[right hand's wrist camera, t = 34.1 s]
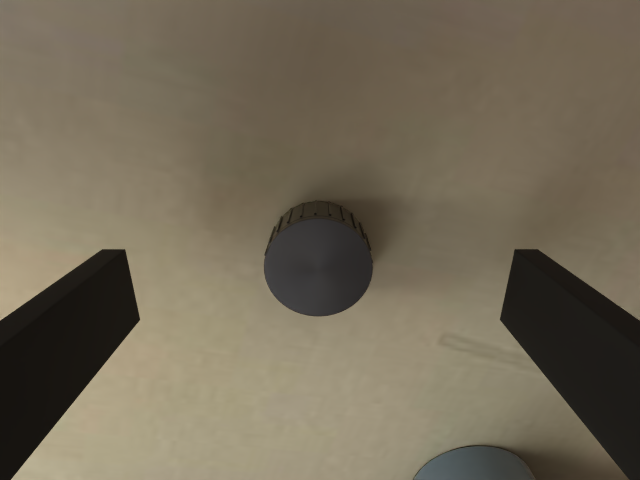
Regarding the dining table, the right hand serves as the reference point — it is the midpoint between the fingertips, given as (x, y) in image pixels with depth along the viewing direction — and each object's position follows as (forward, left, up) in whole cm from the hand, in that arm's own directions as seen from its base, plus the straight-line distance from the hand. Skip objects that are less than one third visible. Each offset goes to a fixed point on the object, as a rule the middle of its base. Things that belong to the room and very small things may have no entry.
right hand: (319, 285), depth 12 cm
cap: (0, 0, -2) cm, 2 cm away
